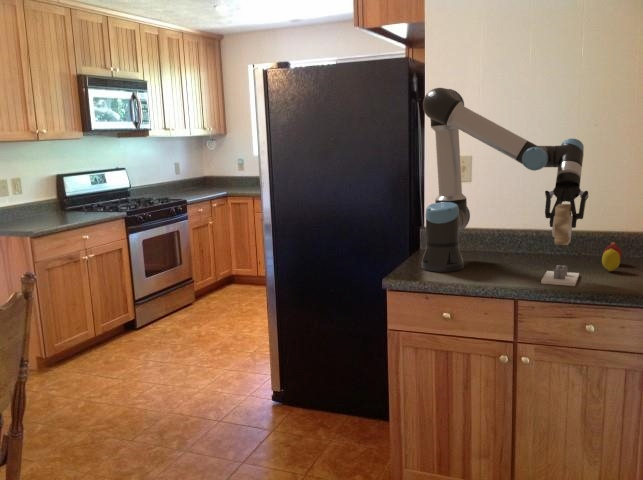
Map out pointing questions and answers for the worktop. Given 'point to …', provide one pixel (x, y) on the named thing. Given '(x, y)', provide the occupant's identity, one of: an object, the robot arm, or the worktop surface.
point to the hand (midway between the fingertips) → (561, 234)
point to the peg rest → (560, 276)
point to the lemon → (611, 259)
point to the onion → (614, 248)
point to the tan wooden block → (562, 224)
